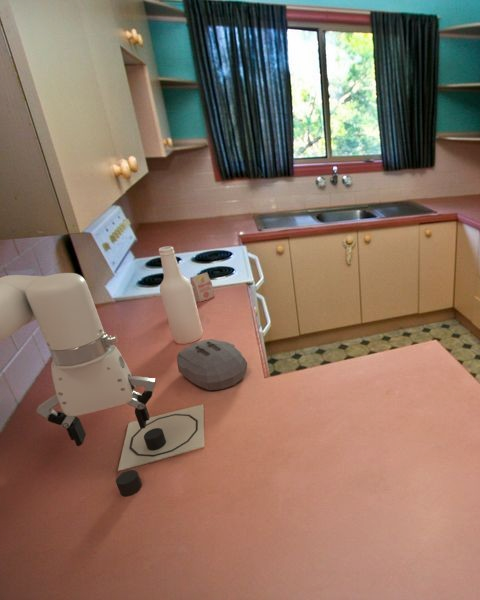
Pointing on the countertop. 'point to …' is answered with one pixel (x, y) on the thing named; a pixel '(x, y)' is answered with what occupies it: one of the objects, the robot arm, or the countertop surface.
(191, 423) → the sheet
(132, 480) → the cylinder
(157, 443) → the cylinder
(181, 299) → the alcohol
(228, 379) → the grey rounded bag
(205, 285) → the small printed carton
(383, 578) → the countertop surface
